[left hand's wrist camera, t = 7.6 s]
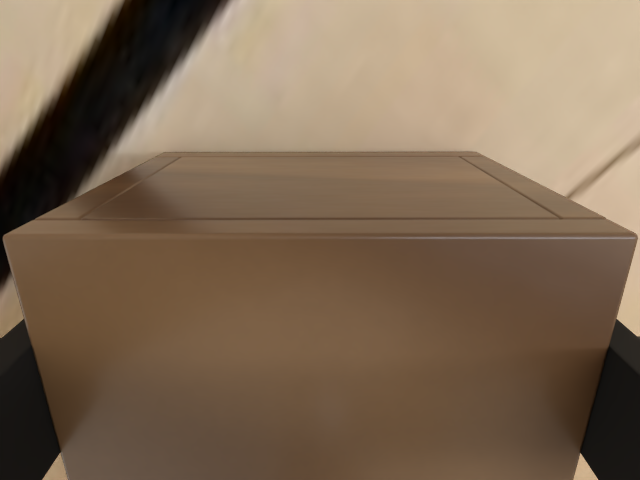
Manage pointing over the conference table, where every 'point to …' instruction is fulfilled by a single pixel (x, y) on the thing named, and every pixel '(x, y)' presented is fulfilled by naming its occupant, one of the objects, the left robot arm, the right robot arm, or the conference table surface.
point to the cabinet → (320, 318)
